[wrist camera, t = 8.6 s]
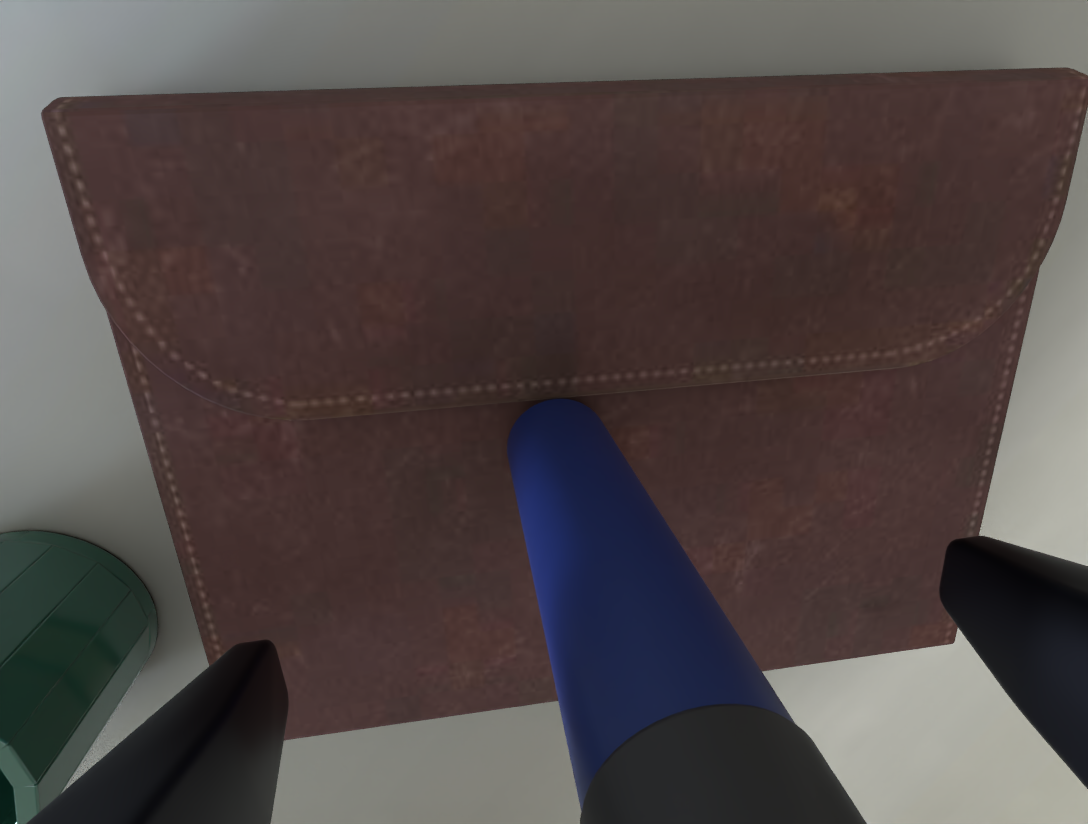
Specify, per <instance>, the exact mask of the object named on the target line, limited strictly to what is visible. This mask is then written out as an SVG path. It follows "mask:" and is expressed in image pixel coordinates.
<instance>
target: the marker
mask: <svg viewBox="0 0 1088 824" xmlns="http://www.w3.org/2000/svg"><path fill="white" fill-rule="evenodd" d="M507 455H508V461H509V466H510V470H511V475H512V480H513V485H514V490H515V494H516V499H517V504H518V509H519V514H520V518H521V523H522V528H523V533H524V538H525V542H526V547H527V552H528V557H529V562H530V566H531V571H532V576H533V581H534V586H535V590H536V595H537V600H538V605H539V610H540V615H541V619H542V624H543V629H544V634H545V639H546V643H547V648H548V653H549V658H550V663H551V667H552V672H553V677H554V682H555V687H556V691H557V696H558V701H559V706H560V711H561V715H562V720H563V725H564V730H565V735H566V739H567V744H568V749H569V754H570V759H571V763H572V768H573V773H574V778H575V783H576V787H577V792H578V797H579V802H580V807H581V811H582V813H581V818H580V824H867V823H866V822H865V820H864V819H863V817H862V816H861V814H860V813H859V811H858V810H857V808H856V806H855V805H854V803H853V802H852V800H851V799H850V797H849V796H848V794H847V793H846V791H845V790H844V788H843V786H842V785H841V783H840V782H839V780H838V779H837V777H836V776H835V774H834V773H833V771H832V770H831V768H830V767H829V765H828V763H827V762H826V760H825V759H824V757H823V756H822V754H821V753H820V751H819V750H818V748H817V747H816V745H815V744H814V742H813V741H812V739H811V738H810V737H809V736H808V735H807V734H806V732H805V731H803V730H802V729H801V728H800V727H798V726H797V725H796V724H795V723H794V721H793V720H792V718H791V716H790V715H789V713H788V712H787V710H786V709H785V707H784V706H783V704H782V702H781V701H780V699H779V698H778V696H777V695H776V693H775V691H774V690H773V688H772V687H771V685H770V684H769V682H768V680H767V679H766V677H765V676H764V674H763V673H762V671H761V670H760V668H759V666H758V665H757V663H756V662H755V660H754V659H753V657H752V655H751V654H750V652H749V651H748V649H747V648H746V646H745V645H744V643H743V641H742V640H741V638H740V637H739V635H738V634H737V632H736V630H735V629H734V627H733V626H732V624H731V623H730V621H729V620H728V618H727V616H726V615H725V613H724V612H723V610H722V609H721V607H720V605H719V604H718V602H717V601H716V599H715V598H714V596H713V595H712V593H711V591H710V590H709V588H708V587H707V585H706V584H705V582H704V580H703V579H702V577H701V576H700V574H699V573H698V571H697V570H696V568H695V566H694V565H693V563H692V562H691V560H690V559H689V557H688V555H687V554H686V552H685V551H684V549H683V548H682V546H681V544H680V543H679V541H678V540H677V538H676V537H675V535H674V534H673V532H672V530H671V529H670V527H669V526H668V524H667V523H666V521H665V519H664V518H663V516H662V515H661V513H660V512H659V510H658V509H657V507H656V505H655V504H654V502H653V501H652V499H651V498H650V496H649V494H648V493H647V491H646V490H645V488H644V487H643V485H642V484H641V482H640V480H639V479H638V477H637V476H636V474H635V473H634V471H633V469H632V468H631V466H630V465H629V463H628V462H627V460H626V459H625V457H624V455H623V454H622V452H621V451H620V449H619V448H618V446H617V444H616V443H615V441H614V440H613V438H612V437H611V435H610V434H609V432H608V430H607V429H606V427H605V426H604V424H603V423H602V421H601V419H600V418H599V417H598V415H597V414H596V413H595V412H594V411H593V410H592V409H590V408H589V407H587V406H586V405H584V404H582V403H580V402H577V401H574V400H569V399H552V400H547V401H544V402H541V403H538V404H536V405H534V406H532V407H531V408H529V409H528V410H527V411H525V412H524V413H523V414H522V415H521V416H520V417H519V418H518V419H517V421H516V422H515V424H514V425H513V427H512V429H511V431H510V434H509V437H508V442H507Z"/></svg>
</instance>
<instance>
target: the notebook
mask: <svg viewBox="0 0 1088 824" xmlns="http://www.w3.org/2000/svg"><path fill="white" fill-rule="evenodd" d="M1087 107H1088V76H1087V75H1085V74H1083V73H1081V72H1078V71H1076V70H1074V69H1070V68H1033V69H999V70H965V71H932V72H898V73H864V74H830V75H796V76H763V77H729V78H695V79H661V80H627V81H594V82H560V83H526V84H492V85H459V86H425V87H391V88H357V89H323V90H290V91H256V92H222V93H188V94H155V95H121V96H87V97H60V98H57V99H56V100H54V101H52V102H51V103H50V104H49V105H48V106H47V107H46V108H44V109H43V110H42V113H41V115H42V120H43V124H44V127H45V131H46V134H47V138H48V141H49V145H50V148H51V151H52V155H53V158H54V162H55V165H56V169H57V172H58V176H59V179H60V183H61V186H62V189H63V193H64V196H65V200H66V203H67V207H68V210H69V214H70V217H71V221H72V224H73V228H74V231H75V234H76V238H77V241H78V245H79V248H80V252H81V255H82V258H83V261H84V264H85V267H86V270H87V272H88V275H89V278H90V280H91V283H92V285H93V287H94V289H95V291H96V293H97V295H98V297H99V299H100V301H101V303H102V304H103V306H104V307H105V309H106V311H107V315H108V318H109V322H110V325H111V329H112V332H113V335H114V339H115V342H116V346H117V349H118V353H119V356H120V360H121V363H122V366H123V370H124V373H125V377H126V380H127V384H128V387H129V391H130V394H131V397H132V401H133V404H134V408H135V411H136V415H137V418H138V422H139V425H140V428H141V432H142V435H143V439H144V442H145V446H146V449H147V453H148V456H149V459H150V463H151V466H152V470H153V473H154V477H155V480H156V484H157V487H158V490H159V494H160V497H161V501H162V504H163V508H164V511H165V515H166V518H167V521H168V525H169V528H170V532H171V535H172V539H173V542H174V545H175V549H176V552H177V556H178V559H179V563H180V566H181V570H182V573H183V576H184V580H185V583H186V587H187V590H188V594H189V597H190V601H191V604H192V607H193V611H194V614H195V618H196V621H197V625H198V628H199V632H200V635H201V638H202V642H203V645H204V649H205V652H206V656H207V659H208V663H209V666H210V665H212V664H213V663H214V662H215V661H216V660H217V659H219V658H220V657H221V656H222V655H223V654H224V653H226V652H227V651H228V650H229V649H230V648H232V647H233V646H234V645H236V644H239V643H244V642H251V641H258V640H265V639H266V640H270V641H271V642H273V644H274V645H275V647H276V650H277V653H278V657H279V661H280V664H281V668H282V672H283V676H284V679H285V683H286V687H287V691H288V699H289V706H288V716H287V722H286V729H285V735H284V740H289V739H296V738H303V737H310V736H317V735H324V734H331V733H338V732H344V731H351V730H358V729H365V728H372V727H379V726H386V725H393V724H400V723H407V722H414V721H421V720H428V719H434V718H441V717H448V716H455V715H462V714H469V713H476V712H483V711H490V710H497V709H504V708H511V707H518V706H525V705H531V704H538V703H545V702H552V701H558V696H557V691H556V687H555V682H554V677H553V672H552V667H551V663H550V658H549V653H548V648H547V643H546V639H545V634H544V629H543V624H542V619H541V615H540V610H539V605H538V600H537V595H536V590H535V586H534V581H533V576H532V571H531V566H530V562H529V557H528V552H527V547H526V542H525V538H524V533H523V528H522V523H521V518H520V514H519V509H518V504H517V499H516V494H515V490H514V485H513V480H512V475H511V470H510V466H509V461H508V455H507V442H508V437H509V434H510V431H511V429H512V427H513V425H514V424H515V422H516V421H517V419H518V418H519V417H520V416H521V415H522V414H523V413H524V412H525V411H527V410H528V409H529V408H531V407H532V406H534V405H536V404H538V403H541V402H544V401H547V400H552V399H569V400H574V401H577V402H580V403H582V404H584V405H586V406H587V407H589V408H590V409H592V410H593V411H594V412H595V413H596V414H597V415H598V417H599V418H600V419H601V421H602V423H603V424H604V426H605V427H606V429H607V430H608V432H609V434H610V435H611V437H612V438H613V440H614V441H615V443H616V444H617V446H618V448H619V449H620V451H621V452H622V454H623V455H624V457H625V459H626V460H627V462H628V463H629V465H630V466H631V468H632V469H633V471H634V473H635V474H636V476H637V477H638V479H639V480H640V482H641V484H642V485H643V487H644V488H645V490H646V491H647V493H648V494H649V496H650V498H651V499H652V501H653V502H654V504H655V505H656V507H657V509H658V510H659V512H660V513H661V515H662V516H663V518H664V519H665V521H666V523H667V524H668V526H669V527H670V529H671V530H672V532H673V534H674V535H675V537H676V538H677V540H678V541H679V543H680V544H681V546H682V548H683V549H684V551H685V552H686V554H687V555H688V557H689V559H690V560H691V562H692V563H693V565H694V566H695V568H696V570H697V571H698V573H699V574H700V576H701V577H702V579H703V580H704V582H705V584H706V585H707V587H708V588H709V590H710V591H711V593H712V595H713V596H714V598H715V599H716V601H717V602H718V604H719V605H720V607H721V609H722V610H723V612H724V613H725V615H726V616H727V618H728V620H729V621H730V623H731V624H732V626H733V627H734V629H735V630H736V632H737V634H738V635H739V637H740V638H741V640H742V641H743V643H744V645H745V646H746V648H747V649H748V651H749V652H750V654H751V655H752V657H753V659H754V660H755V662H756V663H757V665H758V666H759V668H760V670H761V671H767V670H774V669H781V668H788V667H795V666H802V665H809V664H816V663H822V662H829V661H836V660H843V659H850V658H857V657H864V656H871V655H878V654H885V653H892V652H899V651H906V650H913V649H919V648H926V647H933V646H940V645H947V644H953V643H954V641H955V637H956V633H957V628H958V626H957V625H956V624H955V622H954V621H953V619H952V618H951V617H950V615H949V614H948V613H947V611H946V610H945V608H944V607H943V604H942V602H941V599H940V596H939V586H940V580H941V575H942V569H943V564H944V558H945V553H946V549H947V546H948V545H949V543H950V542H951V541H953V540H955V539H960V538H967V537H974V536H979V532H980V527H981V523H982V519H983V514H984V510H985V505H986V501H987V497H988V492H989V488H990V483H991V479H992V475H993V470H994V466H995V461H996V457H997V453H998V448H999V444H1000V439H1001V435H1002V431H1003V426H1004V422H1005V418H1006V413H1007V409H1008V404H1009V400H1010V396H1011V391H1012V387H1013V382H1014V378H1015V374H1016V369H1017V365H1018V360H1019V356H1020V352H1021V347H1022V343H1023V338H1024V334H1025V330H1026V325H1027V321H1028V317H1029V312H1030V308H1031V303H1032V299H1033V295H1034V290H1035V286H1036V281H1037V277H1038V273H1039V268H1040V265H1041V264H1042V262H1043V260H1044V259H1045V257H1046V255H1047V253H1048V250H1049V248H1050V246H1051V244H1052V242H1053V240H1054V237H1055V235H1056V232H1057V230H1058V227H1059V224H1060V222H1061V218H1062V215H1063V211H1064V207H1065V204H1066V200H1067V196H1068V191H1069V187H1070V182H1071V178H1072V173H1073V169H1074V165H1075V160H1076V156H1077V151H1078V147H1079V142H1080V138H1081V133H1082V129H1083V124H1084V120H1085V116H1086V111H1087Z"/></svg>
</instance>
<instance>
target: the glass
mask: <svg viewBox="0 0 1088 824" xmlns="http://www.w3.org/2000/svg"><path fill="white" fill-rule="evenodd" d="M157 631H158V622H157V614H156V610H155V606H154V603H153V601H152V598H151V596H150V594H149V592H148V591H147V589H146V587H145V586H144V584H143V583H142V582H141V580H140V579H139V578H138V577H137V575H136V574H135V573H134V572H133V571H132V570H131V569H130V568H129V567H127V566H126V565H125V564H124V563H123V562H121V561H120V560H119V559H117V558H116V557H115V556H113V555H112V554H110V553H108V552H107V551H105V550H103V549H101V548H99V547H97V546H95V545H93V544H91V543H88V542H86V541H83V540H80V539H77V538H74V537H70V536H66V535H62V534H58V533H50V532H43V531H18V532H9V533H3V534H0V824H26V823H27V822H28V821H30V820H31V819H32V818H33V817H34V816H35V815H37V814H38V813H39V812H40V811H41V810H42V809H44V808H45V807H46V806H47V805H48V804H49V803H51V802H52V801H53V800H54V799H55V798H56V797H58V796H59V795H60V794H61V793H62V792H63V791H65V790H66V789H67V787H68V786H69V784H70V782H71V781H72V779H73V778H74V776H75V775H76V773H77V772H78V770H79V768H80V767H81V765H82V764H83V762H84V761H85V759H86V757H87V756H88V754H89V753H90V751H91V750H92V748H93V747H94V745H95V743H96V742H97V740H98V739H99V737H100V736H101V734H102V732H103V731H104V729H105V728H106V726H107V725H108V723H109V721H110V720H111V718H112V717H113V715H114V714H115V712H116V711H117V709H118V707H119V706H120V704H121V703H122V701H123V700H124V698H125V696H126V695H127V693H128V692H129V690H130V689H131V687H132V686H133V684H134V682H135V680H136V679H137V677H138V675H139V673H140V672H141V670H142V668H143V667H144V665H145V664H146V662H147V661H148V659H149V658H150V656H151V653H152V651H153V649H154V647H155V643H156V639H157Z"/></svg>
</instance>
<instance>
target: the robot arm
mask: <svg viewBox="0 0 1088 824" xmlns="http://www.w3.org/2000/svg"><path fill="white" fill-rule="evenodd" d="M939 596H940V599H941V602H942V604H943V607H944V608H945V610H946V611H947V613H948V614H949V615H950V617H951V618H952V619H953V621H954V622H955V624H956V625H957V626H958V628H959V629H960V630H961V632H962V633H963V634H964V636H965V637H966V639H967V640H968V641H969V643H970V644H971V645H972V647H973V648H974V649H975V651H976V652H977V654H978V655H979V656H980V658H981V659H982V660H983V662H984V663H985V665H986V666H987V667H988V669H989V670H990V671H991V673H992V674H993V675H994V677H995V678H996V680H997V681H998V682H999V684H1000V685H1001V686H1002V688H1003V689H1004V690H1005V692H1006V693H1007V694H1008V696H1009V697H1010V698H1011V700H1012V701H1013V702H1014V704H1015V705H1016V706H1017V707H1018V709H1019V710H1020V711H1021V712H1022V713H1023V715H1024V716H1025V717H1026V718H1027V719H1028V721H1029V722H1030V723H1031V724H1032V725H1033V727H1034V728H1035V729H1036V730H1037V731H1038V732H1039V734H1040V735H1041V736H1042V737H1043V738H1044V739H1045V740H1046V742H1047V743H1048V744H1049V745H1050V746H1051V747H1052V749H1053V750H1054V751H1055V752H1056V753H1057V754H1058V755H1059V757H1060V758H1061V759H1062V760H1063V761H1064V762H1065V763H1066V765H1067V766H1068V767H1069V768H1070V769H1071V770H1072V772H1073V773H1074V774H1075V775H1076V776H1077V777H1078V778H1079V780H1080V781H1081V782H1082V783H1083V784H1084V785H1085V787H1086V788H1087V789H1088V566H1085V565H1081V564H1078V563H1075V562H1071V561H1068V560H1064V559H1061V558H1057V557H1054V556H1051V555H1047V554H1044V553H1040V552H1037V551H1034V550H1030V549H1027V548H1023V547H1020V546H1016V545H1013V544H1010V543H1006V542H1003V541H999V540H996V539H993V538H989V537H985V536H974V537H967V538H960V539H955V540H953V541H951V542H950V543H949V545H948V546H947V549H946V553H945V558H944V564H943V569H942V575H941V580H940V586H939ZM288 706H289V699H288V691H287V687H286V683H285V679H284V676H283V672H282V668H281V664H280V661H279V657H278V653H277V650H276V647H275V645H274V644H273V642H271V641H270V640H266V639H265V640H258V641H251V642H244V643H239V644H236V645H234V646H233V647H232V648H230V649H229V650H228V651H227V652H226V653H224V654H223V655H222V656H221V657H220V658H219V659H217V660H216V661H215V662H214V663H213V664H212V665H210V666H209V667H208V668H207V669H206V670H205V671H203V672H202V673H201V674H200V675H199V676H198V677H196V678H195V679H194V680H193V681H192V682H191V683H189V684H188V685H187V686H186V687H185V688H184V689H182V690H181V691H180V692H179V693H178V694H177V695H175V696H174V697H173V698H172V699H171V700H170V701H168V702H167V703H166V704H165V705H164V706H163V707H161V708H160V709H159V710H158V711H157V712H156V713H154V714H153V715H152V716H151V717H150V718H149V719H147V720H146V721H145V722H144V723H143V724H142V725H140V726H139V727H138V728H137V729H136V730H135V731H133V732H132V733H131V734H130V735H129V736H128V737H126V738H125V739H124V740H123V741H122V742H121V743H119V744H118V745H117V746H116V747H115V748H114V749H112V750H111V751H110V752H109V753H108V754H107V755H105V756H104V757H103V758H102V759H101V760H100V761H98V762H97V763H96V764H95V765H94V766H93V767H91V768H90V769H89V770H88V771H87V772H86V773H84V774H83V775H82V776H81V777H80V778H79V779H77V780H76V781H75V782H74V783H73V784H72V785H70V786H69V787H68V788H67V789H66V790H65V791H63V792H62V793H61V794H60V795H59V796H58V797H56V798H55V799H54V800H53V801H52V802H51V803H49V804H48V805H47V806H46V807H45V808H44V809H42V810H41V811H40V812H39V813H38V814H37V815H35V816H34V817H33V818H32V819H31V820H30V821H28V822H27V823H26V824H270V823H271V817H272V811H273V805H274V798H275V792H276V786H277V779H278V773H279V767H280V760H281V754H282V748H283V741H284V735H285V729H286V722H287V716H288Z"/></svg>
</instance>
